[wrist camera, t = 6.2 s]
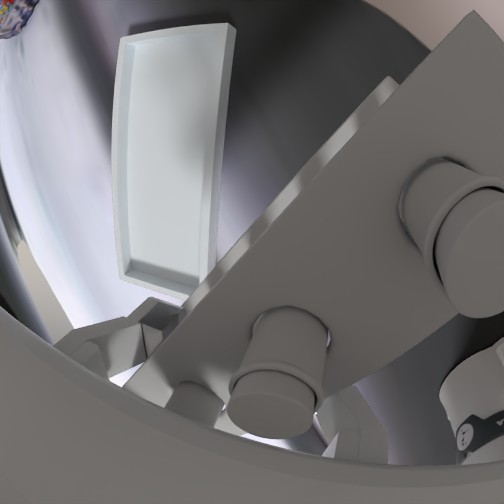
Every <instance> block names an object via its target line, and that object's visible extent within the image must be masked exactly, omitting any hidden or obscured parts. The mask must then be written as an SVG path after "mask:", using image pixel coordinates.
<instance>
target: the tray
mask: <svg viewBox="0 0 504 504" xmlns="http://www.w3.org/2000/svg"><path fill="white" fill-rule="evenodd" d="M236 30H237V29H235V28H234V27H233V26H232V25H230V24H229V23H216V24H203V25H192V26H183V27H176V28H169V29H162V30H156V31H150V32H145V33H140V34H135V35H131V36H126V37H122V38H121V39H120V46H119V53H118V61H117V69H116V79H115V89H114V102H113V120H112V199H113V217H114V230H115V242H116V252H117V261H118V269H119V277H120V279H121V280H123V281H126V282H129V283H132V284H135V285H138V286H141V287H144V288H147V289H150V290H153V291H156V292H159V293H162V294H165V295H169V296H172V297H175V298H178V299H181V300H185V301H186V300H187V299H188V297H189V296H190V295H191V294H192V293H193V292H194V290H195V289H196V288H197V287H198V286H199V285H200V283H201V282H202V281H203V280H204V279H205V278H206V276H207V275H208V274H209V273H210V272H211V271H212V270H213V268H214V267H215V264H216V246H217V229H218V214H219V200H220V186H221V173H222V161H223V150H224V138H225V128H226V117H227V107H228V98H229V88H230V79H231V70H232V62H233V54H234V46H235V38H236Z"/></svg>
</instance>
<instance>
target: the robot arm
mask: <svg viewBox="0 0 504 504" xmlns="http://www.w3.org/2000/svg"><path fill="white" fill-rule="evenodd" d="M186 316H187V310H186V309H185V308H183V307H180V306H177V305H174V304H172V303H169V302H166V301H163V300H160V299H157V298H154V297H149V298H147V299H146V300H145V301H144V302H143V303H142V304H141V305H140V306H139V307H138V308H136V309H135V310H134V311H133V312H132V313H131V314H130V315H129V316H128V317H127V318H126V317H124V316H123V317H120V318H116V319H112V320H108V321H105V322H101V323H97V324H93V325H89V326H85V327H81V328H78V329H74V330H71V331H70V332H69V333H68V334H67V335H66V336H64V337H63V338H62V339H61V340H60V341H58V342H57V343H56V344H55V345H54V346H52V345H50V344H49V343H47V342H46V341H44V340H43V339H42V338H40V337H39V336H37V335H36V334H35V333H33V332H32V331H31V330H29V329H28V328H27V327H25V326H24V325H23V324H22V323H20V322H19V321H18V320H16V319H15V318H14V317H13V316H11V315H10V314H9V313H8V312H7V311H5V310H4V309H3V308H2V307H1V306H0V504H504V337H503V338H501V339H500V340H499V341H498V342H496V343H495V344H494V345H493V346H491V347H489V348H487V349H485V350H483V351H480V352H478V353H476V354H474V355H472V356H471V357H469V358H467V359H466V360H464V361H463V362H462V363H460V364H459V365H458V366H457V367H456V368H455V369H454V370H453V371H452V372H451V373H450V374H449V375H448V376H447V378H446V379H445V381H444V382H443V384H442V386H441V389H440V394H439V397H440V401H441V403H442V404H443V406H444V408H445V410H446V412H447V416H448V419H449V420H450V422H451V426H452V429H453V432H454V435H455V438H456V448H455V450H456V458H457V464H458V465H444V466H410V465H390V464H388V433H387V431H386V430H385V428H384V427H383V425H382V424H381V422H380V421H379V419H378V418H377V417H376V415H375V414H374V412H373V411H372V409H371V408H370V406H369V405H368V403H367V402H366V400H365V399H364V397H363V396H362V394H361V393H360V391H359V390H358V389H357V387H356V386H352V385H351V386H349V387H347V388H345V389H343V390H341V391H339V392H338V393H336V394H334V395H332V396H330V397H328V398H326V399H324V401H323V404H322V406H321V407H320V409H319V410H318V411H317V412H316V413H315V414H316V416H317V419H318V421H319V424H320V426H321V429H322V431H323V433H324V436H325V438H326V441H327V443H328V448H327V449H326V450H325V452H324V453H323V455H322V456H318V455H313V454H308V453H303V452H298V451H294V450H289V449H285V448H281V447H277V446H273V445H269V444H265V443H261V442H258V441H254V440H251V439H247V438H244V437H241V436H238V435H234V434H231V433H228V432H225V431H222V430H219V429H216V428H214V427H211V426H208V425H205V424H202V423H200V422H197V421H195V420H192V419H189V418H187V417H184V416H182V415H179V414H177V413H175V412H172V411H170V410H168V409H165V408H163V407H161V406H159V405H156V404H154V403H152V402H150V401H148V400H146V399H143V398H141V397H139V396H137V395H135V394H133V393H131V392H129V391H127V390H125V389H123V388H122V387H120V386H118V385H116V384H114V383H112V382H110V380H109V378H110V377H112V376H115V375H117V374H119V373H121V372H124V371H126V370H128V369H130V368H132V367H134V366H137V365H139V364H141V363H143V362H145V361H146V360H147V359H148V358H149V357H150V356H151V355H152V353H153V352H154V351H155V350H156V349H157V348H158V347H159V346H160V345H161V344H162V342H163V341H164V340H165V339H166V338H167V337H168V336H169V335H170V334H171V333H172V331H173V330H174V329H175V328H176V327H177V326H178V325H179V324H180V323H181V322H182V320H183V319H184V318H185V317H186ZM327 348H328V347H327Z"/></svg>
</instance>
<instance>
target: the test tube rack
mask: <svg viewBox="0 0 504 504" xmlns="http://www.w3.org/2000/svg"><path fill="white" fill-rule="evenodd" d="M442 157H448V158H450V159H453V160H455V161H458V162H461V163H462V164H463V165H464V166H465V167H466V168H467V169H466V168H464V167H462V166H459V165H457V164H455V163H452V162H450V161H447V160H445V159H442ZM400 218H401V219H402V221H403V222H404V224H405V226H406V227H407V229H408V231H409V232H410V234H411V236H412V237H413V239H414V241H415V242H416V243H415V242H414V241H413V240H411V239H410V237H409V236H408V234H407V232H406V231H405V229H404V227H403V226H402V224H401V219H400ZM181 307H183V308H185V309H186V310H187V316H186V317H185V318H184V319H183V320H182V322H181V323H180V324H179V325H178V326H177V327H176V328H175V329H174V330H173V331H172V333H171V334H170V335H169V336H168V337H167V338H166V339H165V340H164V341H163V342H162V344H161V345H160V346H159V347H158V348H157V349H156V350H155V351H154V352H153V353H152V355H151V356H150V357H149V358H148V359H147V360H146V361H145V362H144V363H143V364H142V366H141V367H140V368H139V369H138V370H137V371H136V372H135V373H134V374H133V375H132V377H131V378H130V379H129V380H128V381H127V382H126V383H125V384H124V385H123V387H122V388H123V389H125V390H127V391H129V392H131V393H133V394H135V395H137V396H139V397H141V398H143V399H146V400H148V401H150V402H152V403H154V404H156V405H159V406H161V407H163V408H165V409H168V410H170V411H172V412H175V413H177V414H179V415H182V416H184V417H187V418H189V419H192V420H195V421H197V422H200V423H202V424H205V425H208V426H211V427H214V428H216V429H219V430H222V431H225V432H228V433H231V434H234V435H238V436H240V435H243V434H246V433H250V434H252V435H255V436H258V437H262V438H268V439H288V438H293V437H296V436H299V435H301V434H303V433H304V432H306V431H307V430H308V429H309V428H310V426H311V424H312V421H313V414H314V413H316V412H317V411H318V410H319V409H320V407H321V406H322V404H323V401H324V399H326V398H328V397H330V396H332V395H334V394H336V393H338V392H339V391H341V390H343V389H345V388H347V387H349V386H351V385H352V384H354V383H356V382H358V381H359V380H361V379H363V378H365V377H366V376H368V375H370V374H371V373H373V372H375V371H376V370H378V369H380V368H381V367H383V366H385V365H386V364H388V363H389V362H391V361H392V360H394V359H396V358H397V357H399V356H400V355H402V354H403V353H405V352H406V351H408V350H409V349H411V348H412V347H414V346H415V345H416V344H418V343H419V342H421V341H422V340H423V339H425V338H426V337H428V336H429V335H430V334H432V333H433V332H434V331H436V330H437V329H438V328H440V327H441V326H442V325H444V324H445V323H446V322H448V321H449V320H450V319H451V318H453V317H454V316H455V315H456V314H458V313H461V314H463V315H465V316H467V317H471V318H486V317H490V316H494V315H496V314H499V313H501V312H503V311H504V42H503V41H502V40H501V39H500V37H499V36H498V35H497V34H496V33H495V32H494V30H493V29H492V28H491V27H490V26H489V25H488V24H487V23H486V22H485V21H484V20H483V19H482V18H481V17H480V15H479V14H478V13H477V12H476V11H475V10H473V11H472V12H470V13H469V14H468V15H466V16H465V17H464V18H463V20H462V21H461V22H459V24H458V25H457V26H456V27H455V28H454V29H453V30H452V31H451V32H450V33H449V34H448V35H447V36H446V37H445V38H444V39H443V40H442V41H441V42H440V44H438V46H437V47H436V48H435V49H434V50H433V51H432V52H431V53H430V54H429V55H428V56H427V57H426V58H425V59H424V60H423V61H422V62H421V64H420V65H419V66H418V67H417V68H416V69H415V70H414V71H413V72H412V73H411V74H410V75H409V76H408V77H407V78H406V79H405V80H404V82H403V83H402V84H401V85H398V84H397V83H396V82H395V81H394V80H393V79H392V78H391V77H390V76H387V77H386V78H385V79H384V80H383V81H382V82H381V83H380V84H379V85H378V86H377V87H376V88H375V89H374V90H373V91H372V93H371V94H370V95H369V96H368V97H367V98H366V99H365V100H364V101H363V102H362V103H361V104H360V105H359V107H358V108H357V109H356V110H355V111H354V112H353V113H352V114H351V115H350V116H349V117H348V118H347V119H346V121H345V122H344V123H343V124H342V125H341V126H340V127H339V128H338V129H337V130H336V131H335V133H334V134H333V135H332V136H331V137H330V138H329V139H328V140H327V141H326V142H325V143H324V145H323V146H322V147H321V148H320V149H319V150H318V151H317V152H316V153H315V154H314V156H313V157H312V158H311V159H310V160H309V161H308V162H307V163H306V164H305V165H304V167H303V168H302V169H301V170H300V171H299V172H298V173H297V174H296V175H295V177H294V178H293V179H292V180H291V181H290V182H289V183H288V184H287V185H286V187H285V188H284V189H283V190H282V191H281V192H280V193H279V194H278V196H277V197H276V198H275V199H274V200H273V201H272V202H271V203H270V205H269V206H268V207H267V208H266V209H265V210H264V211H263V212H262V214H261V215H260V216H259V217H258V218H257V219H256V220H255V221H254V223H253V224H252V225H251V226H250V227H249V228H248V229H247V231H246V232H245V233H244V234H243V235H242V236H241V237H240V239H239V240H238V241H237V242H236V243H235V244H234V245H233V247H232V248H231V249H230V250H229V251H228V252H227V253H226V255H225V256H224V257H223V258H222V259H221V260H220V261H219V263H218V264H217V265H216V266H215V267H214V268H213V270H212V271H211V272H210V273H209V274H208V275H207V276H206V278H205V279H204V280H203V281H202V282H201V283H200V285H199V286H198V287H197V288H196V289H195V290H194V292H193V293H192V294H191V295H190V296H189V297H188V299H187V300H186V301H185V302H184V303H183V304H182V306H181ZM328 329H329V333H330V337H331V341H330V343H329V346H328V348H327V339H328ZM224 404H225V405H226V407H225V409H224V410H223V411H222V409H223V406H224Z"/></svg>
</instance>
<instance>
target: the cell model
mask: <svg viewBox="0 0 504 504" xmlns="http://www.w3.org/2000/svg"><path fill="white" fill-rule="evenodd" d="M37 2H38V0H0V39H8V38H11V37H13V36H16V35H18V34H19V32H21V31H22V29H21V28H22V27H23V26H24V25H25V24H26V22H27V20H28V19H29V17H30V16H31V14H32V12H33V9H34V7H35V5H36V3H37Z"/></svg>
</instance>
